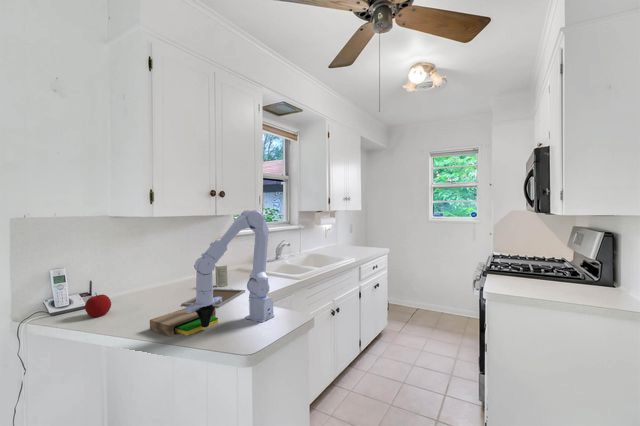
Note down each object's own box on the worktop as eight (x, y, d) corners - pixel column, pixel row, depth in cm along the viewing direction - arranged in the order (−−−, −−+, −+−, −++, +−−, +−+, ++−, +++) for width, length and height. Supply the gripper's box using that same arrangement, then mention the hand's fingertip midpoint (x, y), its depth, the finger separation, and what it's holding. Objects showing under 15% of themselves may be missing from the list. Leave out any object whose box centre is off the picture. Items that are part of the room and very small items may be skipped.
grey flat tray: (181, 303, 137) (216, 287, 166) (181, 307, 137) (216, 290, 166) (218, 305, 133) (247, 288, 162) (218, 309, 133) (247, 291, 162)
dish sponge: (174, 332, 107) (174, 326, 107) (206, 320, 119) (206, 314, 119) (187, 336, 103) (186, 330, 103) (218, 323, 115) (218, 317, 115)
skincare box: (226, 284, 177) (226, 264, 177) (227, 285, 173) (227, 265, 173) (215, 285, 174) (215, 265, 174) (216, 287, 170) (216, 266, 170)
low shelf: (215, 318, 120) (215, 308, 120) (169, 336, 103) (169, 325, 103) (196, 313, 126) (196, 304, 126) (149, 330, 109) (149, 319, 109)
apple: (112, 315, 125) (112, 292, 125) (85, 320, 119) (85, 296, 119) (110, 310, 132) (109, 288, 132) (84, 315, 126) (84, 291, 126)
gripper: (213, 284, 117) (213, 318, 117) (180, 293, 104) (180, 331, 104) (225, 286, 113) (226, 321, 113) (193, 295, 101) (193, 335, 101)
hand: (205, 326), depth 108 cm, fingers closed
